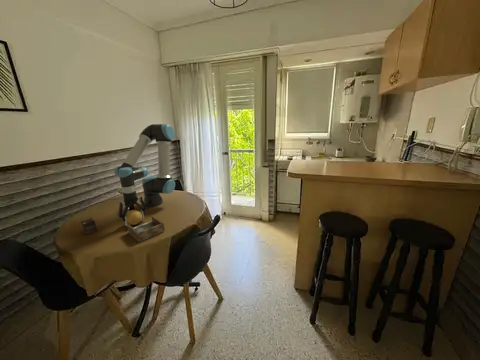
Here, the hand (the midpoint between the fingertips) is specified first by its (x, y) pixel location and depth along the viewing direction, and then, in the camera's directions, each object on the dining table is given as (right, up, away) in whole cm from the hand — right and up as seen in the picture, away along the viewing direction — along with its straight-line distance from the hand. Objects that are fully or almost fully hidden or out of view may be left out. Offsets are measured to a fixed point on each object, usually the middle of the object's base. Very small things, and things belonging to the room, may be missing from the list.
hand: (135, 222), depth 136 cm
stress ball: (0, -1, 0) cm, 1 cm away
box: (-25, -4, -7) cm, 26 cm away
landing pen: (+12, -4, -10) cm, 16 cm away
